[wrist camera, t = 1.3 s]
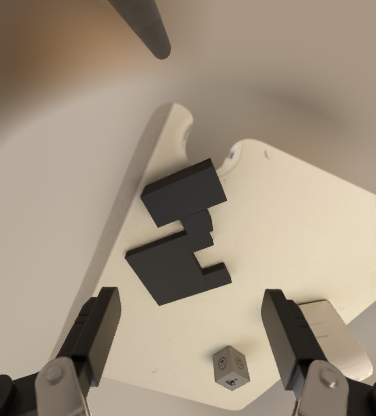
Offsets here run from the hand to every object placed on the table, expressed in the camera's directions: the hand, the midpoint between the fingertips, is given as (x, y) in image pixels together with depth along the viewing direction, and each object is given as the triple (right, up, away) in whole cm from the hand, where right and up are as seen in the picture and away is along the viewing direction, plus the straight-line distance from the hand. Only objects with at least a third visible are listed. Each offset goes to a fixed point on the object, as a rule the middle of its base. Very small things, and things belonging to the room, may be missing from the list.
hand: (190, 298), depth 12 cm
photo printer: (+22, -15, +31) cm, 41 cm away
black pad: (-2, -5, +26) cm, 27 cm away
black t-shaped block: (0, +6, +21) cm, 22 cm away
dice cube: (+9, -28, +37) cm, 47 cm away
